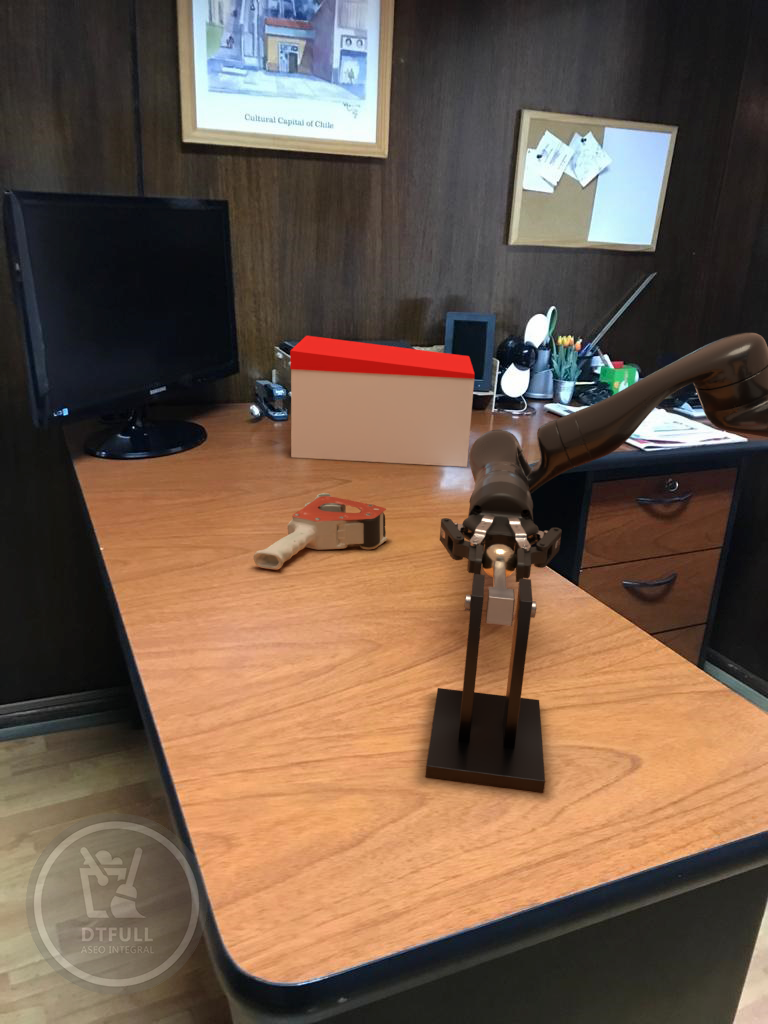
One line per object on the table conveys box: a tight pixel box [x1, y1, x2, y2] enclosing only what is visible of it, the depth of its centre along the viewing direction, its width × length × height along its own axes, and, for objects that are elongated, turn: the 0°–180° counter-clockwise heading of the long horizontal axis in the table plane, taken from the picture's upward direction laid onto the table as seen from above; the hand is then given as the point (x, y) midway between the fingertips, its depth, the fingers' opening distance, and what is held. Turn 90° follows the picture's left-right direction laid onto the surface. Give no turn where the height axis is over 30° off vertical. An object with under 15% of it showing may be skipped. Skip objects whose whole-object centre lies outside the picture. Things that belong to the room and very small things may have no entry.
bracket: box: [425, 573, 546, 793], centre depth 68 cm, size 12×10×16 cm
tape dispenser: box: [252, 492, 388, 571], centre depth 112 cm, size 18×5×20 cm
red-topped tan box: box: [289, 335, 476, 468], centre depth 158 cm, size 21×35×21 cm, turn 87°
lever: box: [481, 544, 517, 627], centre depth 73 cm, size 17×4×4 cm, turn 172°
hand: (498, 571), depth 77 cm, fingers closed on lever, 3 cm apart
